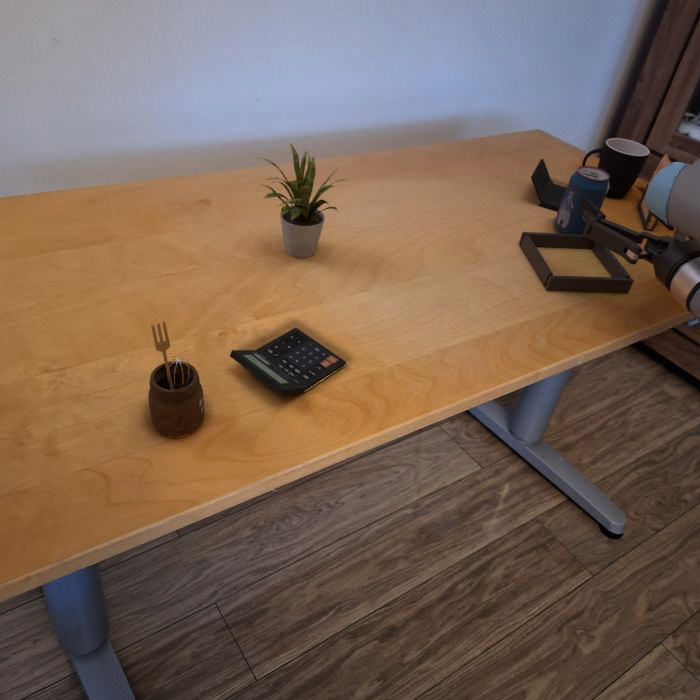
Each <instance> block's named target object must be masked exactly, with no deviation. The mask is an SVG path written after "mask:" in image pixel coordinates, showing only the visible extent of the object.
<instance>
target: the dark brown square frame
mask: <svg viewBox="0 0 700 700" xmlns="http://www.w3.org/2000/svg"><path fill="white" fill-rule="evenodd" d="M518 245H519V246H520V249H521V250H522V252H523V253H524V255H525V257H526V259H527V261H528V262H529V264H530V266H531V267H532V269H533V271H534V272H535V274H536V275H537V277H538V280H539V281H540V282H541V284H542V285H543V287H544V288H545V290H546V291H549V292H550V291H551V292H553V291H555V292H587V293H589V292H590V293H618V294H619V293H622V294H629V292H630V291H631V289H632V286H633V284H634V282H635V280H634V279H633V277H632V276H631V275H630V273H629V272H628V271H627V269H626V268H625V267H624V265H622V263H621V262H620V261H619V260H618V258H617V257H616V256H615V254H614V252H613V251H611V250H609V249H607V248H606V247H604V246H602V245H600V244H598V243H597V242H595V241H593V240H591V239H590V238H588V237H586V236H584V235H583V234H561V233H558V232H540V231H539V232H535V231H522V233H521V235H520V238H519V240H518ZM538 248H559V249H560V248H561V249H585V250H586V249H587V250H591V251H592V252H593V254H594V255H595V256H596V257H597V259H598V260H599V261H600V263H601V264H602V266H603V267H604V268H605V270H606V271H607V272H608V274H609V275H610V276H583V275H554V273H553V271H552V269H551V268H550V267H549V265H548V263H547V261H546V260H545V259H544V257H543V255H542V254H541V252H540V251H539V249H538Z"/></svg>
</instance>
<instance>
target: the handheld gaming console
mask: <svg viewBox="0 0 700 700" xmlns="http://www.w3.org/2000/svg"><path fill="white" fill-rule="evenodd" d="M530 179H531V182H532V185H533V187H534V189H535V190H534V191H535V192H536V195H537V197H538V200H539V204H538V206H539V207H542V208H545V209H548V210H552V211H556V212H558V211H559V208H560V205H561V202H562V200H563V197H564V194H565V192H566V189H567V186H565V185H561V184H557V183H554V181H553V180H552V179H551V176H550V173H549V171H548V168H547V165H546V162H545V160H544V159H543V158H541V159H540V160H539V162H538V164H537V165H536V167H535V169H534V170H533V172H532V174H531V176H530Z"/></svg>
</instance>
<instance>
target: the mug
mask: <svg viewBox="0 0 700 700" xmlns="http://www.w3.org/2000/svg"><path fill="white" fill-rule="evenodd" d="M650 153H651V151H650V149H649V148H648V147H646V146H645V145H644V144H641V143H639V142H637V141H635V140H630V139H626V138H621V137H615V138H614V137H611V138H608V139H607V140H606V141H605V143H604V145H603V146H602V147H598V148H594V149H592V150H590V151H589V152H587V154H586V155H585V156H584V158H583V159H582V161H581V166H586V163H587V160H588V159H589V157H591V156H592V155H594V154H600V156H599V160H598V164H597V167H596V168H599V169H602V170H604V171H606V172H607V173H608V174H609V176H610V178H609V189H608V192H607V194H606V197H605V198H611V199H621V198H624V197H625V196H627V194H628V193H629V192H630V190H631V189H632V188H633V186H634V185H635V183H636V181H637V180H638V178H639V176H640V174H641V173H642V171H643V169H644V167H645V165H646V163H647V161H648V158H649V156H650V155H651V154H650Z"/></svg>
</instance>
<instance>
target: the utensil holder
mask: <svg viewBox="0 0 700 700" xmlns="http://www.w3.org/2000/svg"><path fill="white" fill-rule="evenodd" d="M156 327H157V332H156ZM156 327H155V325H154V324H151V326H150V328H151V332H152V337H153V342H154V346H155V350H156V352H161V353H162V357H163V361H164V362H163V363H161V364H159V365H158V366H156V367H155V368H154V369H153V370H152V372H151V373H150V376H149V389H148V395H147V396H148V408H149V415H150V419H151V424H152V427H154V429H155V430H156V431H157V433H159V432H160V433H159V434H160V435H162V434H164V435H166V436H165V437H167V436H172V437H171V438H173V437H178V438H181V437H180V436H185V435H188V434H190V435H192V434H194V433H195V432H197V431H198V430H199V429H200V428H201V427H202V425H203V423H204V420H205V397H204V389H203V386H202V384H201V382H200V380H201V379H200V376H199V372H198V370H197V369H196V367H195V366H194V365H192V364H191V363H189V361H187V358H186V359H185V358H183V356H180V357H179V358H178V357H177V356H175V358H176V359H175V358H172V359H171V360H168V356H167V355H168V354H167V351H168V350H169V348H170V347H171V343H170V338H169V333H168V329H167V323H166V321H165V320H163V321H162V328H161V323H160V322H158V323H156ZM162 329H163V332H162ZM157 333H158V336H157ZM163 334H164V337H163ZM158 337H159V340H158ZM164 338H165V339H164ZM184 360H185V361H184ZM186 361H187V362H186ZM199 427H200V428H199ZM198 428H199V429H198ZM197 429H198V430H197ZM196 430H197V431H196ZM193 432H194V433H193ZM191 433H192V434H191ZM164 435H163V436H164ZM188 436H189V435H188ZM185 437H186V436H185Z"/></svg>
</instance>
